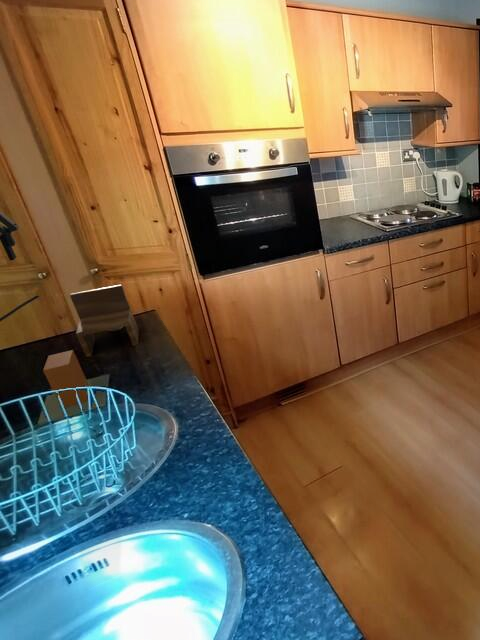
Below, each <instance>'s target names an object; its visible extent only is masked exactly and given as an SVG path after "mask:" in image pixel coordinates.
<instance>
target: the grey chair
mask: <svg viewBox="0 0 480 640" xmlns="http://www.w3.org/2000/svg"><path fill="white" fill-rule="evenodd" d="M69 297H70V299H71V302H72V304H73V306H74V309H75V311H76V314H77V316H78V318H79V320H78V325H77V328H76V331H75V335H76V337H77V340H78V342H79V343H80V346H81V349H82V351H83V353H84V355H85V357H86V358H89V357H92V355H93V351H94V346H95V342H96V338H95V335H94V334H97V333H101V332H107V330H110V329H115V328H119V327H122V328H124V327H125V329H126V331H127V335H128V336H129V340H130V342H131V344H132V346H133V347H135V346H138V345H139V326H138V323H137V322H136V319H135V317H134V314H133V311H132V309H131V305H130V303H129V301H128V298H127V295H126V292H125V289H124V287H123V285H122V284H121V283H120V284H116V285H111V286H105V287H100V288H99V287H98V288H94V289H88V290H83V291H82V290H81V291H77V292H72V293H69Z"/></svg>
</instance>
